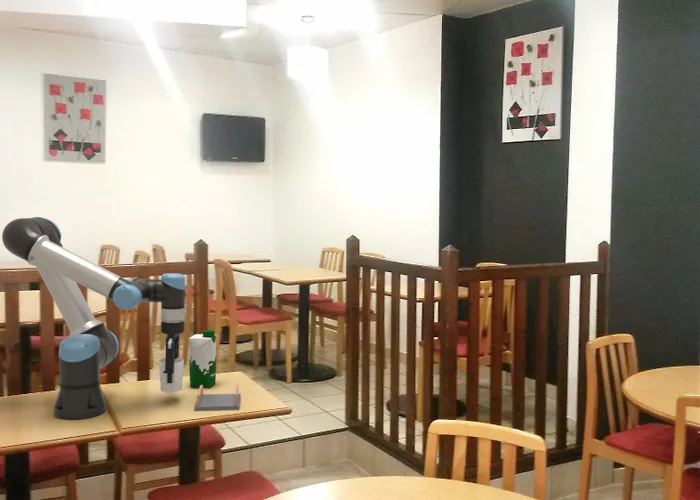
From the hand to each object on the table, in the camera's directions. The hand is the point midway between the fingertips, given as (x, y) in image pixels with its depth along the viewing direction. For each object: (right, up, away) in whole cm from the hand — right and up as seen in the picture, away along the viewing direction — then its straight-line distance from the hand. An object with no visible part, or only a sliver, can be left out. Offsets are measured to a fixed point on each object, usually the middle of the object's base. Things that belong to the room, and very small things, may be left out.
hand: (171, 388), depth 225 cm
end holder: (+16, -4, -2) cm, 17 cm away
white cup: (0, -1, 0) cm, 1 cm away
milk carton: (+6, -3, +19) cm, 20 cm away
